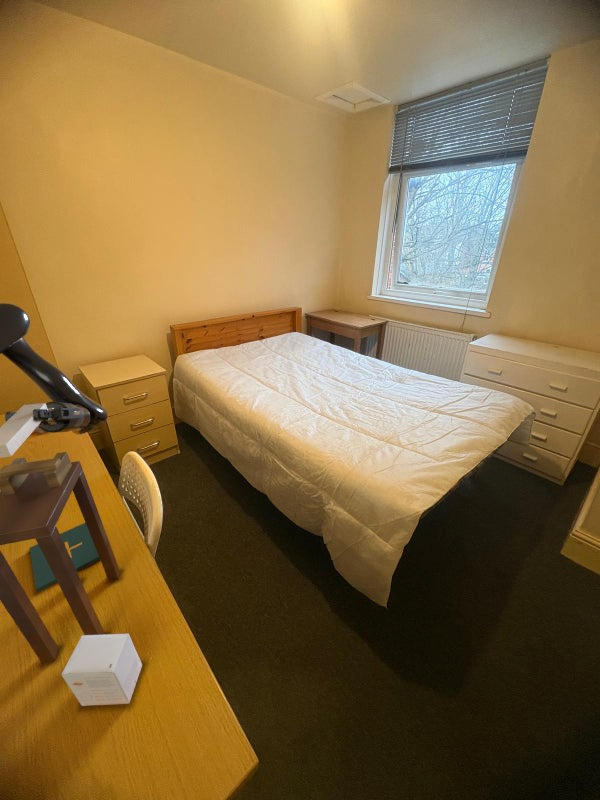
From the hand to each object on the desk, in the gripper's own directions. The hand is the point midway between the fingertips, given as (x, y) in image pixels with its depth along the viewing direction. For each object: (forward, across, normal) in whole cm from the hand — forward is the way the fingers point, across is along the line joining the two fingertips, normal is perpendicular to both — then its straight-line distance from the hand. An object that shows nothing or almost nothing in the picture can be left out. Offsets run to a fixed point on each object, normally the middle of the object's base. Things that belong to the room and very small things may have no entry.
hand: (22, 415), depth 65 cm
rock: (-77, -31, -1) cm, 83 cm away
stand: (-2, +7, +42) cm, 43 cm away
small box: (+11, +15, +50) cm, 53 cm away
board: (-16, -1, +34) cm, 37 cm away
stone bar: (+1, 0, +4) cm, 4 cm away
